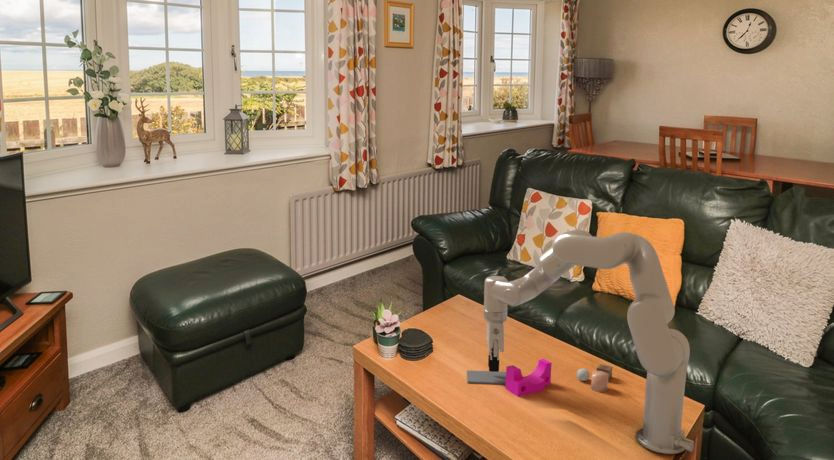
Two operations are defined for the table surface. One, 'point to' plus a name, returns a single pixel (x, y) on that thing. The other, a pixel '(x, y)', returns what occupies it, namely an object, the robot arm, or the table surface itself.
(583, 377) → the grey ball
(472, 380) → the felt pad
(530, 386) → the toy block
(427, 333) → the table surface
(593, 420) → the table surface
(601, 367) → the walnut cube
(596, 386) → the beige glossy rounded block
